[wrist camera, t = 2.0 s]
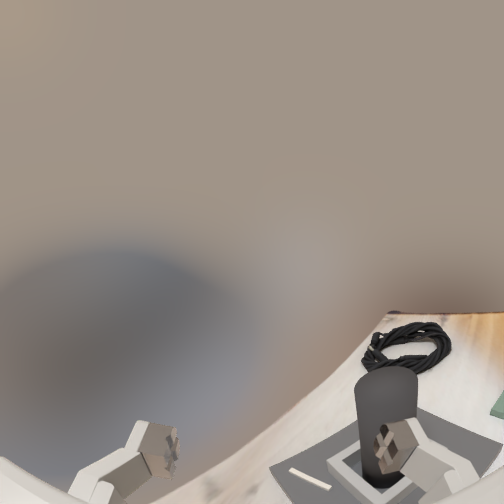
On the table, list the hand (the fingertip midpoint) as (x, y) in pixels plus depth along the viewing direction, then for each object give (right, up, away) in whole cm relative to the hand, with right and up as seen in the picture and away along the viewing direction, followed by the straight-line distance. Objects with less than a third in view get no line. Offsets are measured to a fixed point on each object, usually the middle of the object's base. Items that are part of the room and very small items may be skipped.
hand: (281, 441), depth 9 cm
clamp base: (+14, -18, +12) cm, 25 cm away
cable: (+27, -12, +34) cm, 46 cm away
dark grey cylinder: (+13, -16, +12) cm, 24 cm away
